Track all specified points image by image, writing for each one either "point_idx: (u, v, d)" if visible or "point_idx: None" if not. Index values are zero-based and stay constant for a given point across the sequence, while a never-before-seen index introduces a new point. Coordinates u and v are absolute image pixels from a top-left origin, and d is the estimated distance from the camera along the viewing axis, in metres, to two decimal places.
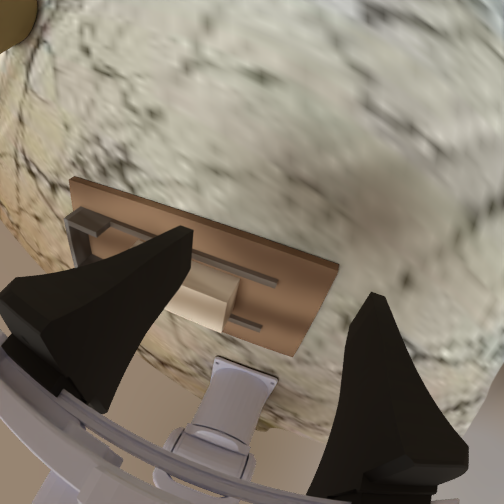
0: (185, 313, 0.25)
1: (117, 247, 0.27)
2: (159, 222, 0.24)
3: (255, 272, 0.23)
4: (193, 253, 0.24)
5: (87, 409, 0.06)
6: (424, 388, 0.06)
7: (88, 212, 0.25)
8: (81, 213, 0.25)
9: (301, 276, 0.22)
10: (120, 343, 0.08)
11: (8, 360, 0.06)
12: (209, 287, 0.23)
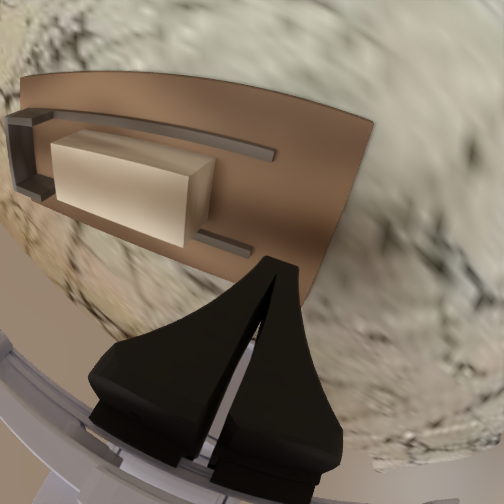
0: (129, 217, 0.15)
1: None
2: (108, 92, 0.14)
3: (239, 139, 0.14)
4: (148, 123, 0.14)
5: (87, 409, 0.06)
6: (306, 356, 0.07)
7: (33, 109, 0.16)
8: (25, 111, 0.15)
9: (313, 137, 0.13)
10: (223, 391, 0.08)
11: (8, 360, 0.06)
12: (164, 162, 0.13)
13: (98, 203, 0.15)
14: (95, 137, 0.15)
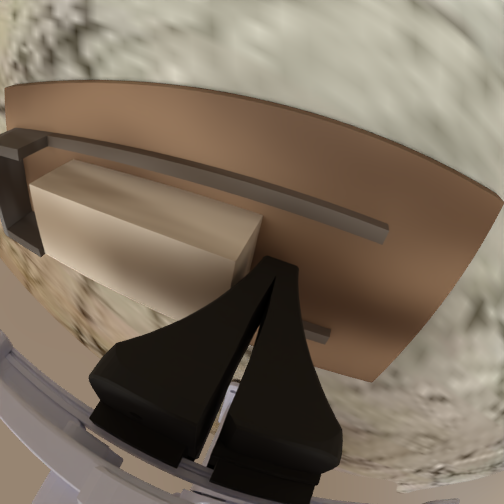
0: (143, 295, 0.11)
1: None
2: (128, 113, 0.10)
3: (339, 207, 0.10)
4: (195, 168, 0.10)
5: (87, 409, 0.06)
6: (306, 356, 0.07)
7: (21, 131, 0.12)
8: (11, 133, 0.12)
9: (437, 214, 0.09)
10: (224, 391, 0.08)
11: (8, 360, 0.06)
12: (192, 228, 0.10)
13: (99, 270, 0.11)
14: (89, 175, 0.11)
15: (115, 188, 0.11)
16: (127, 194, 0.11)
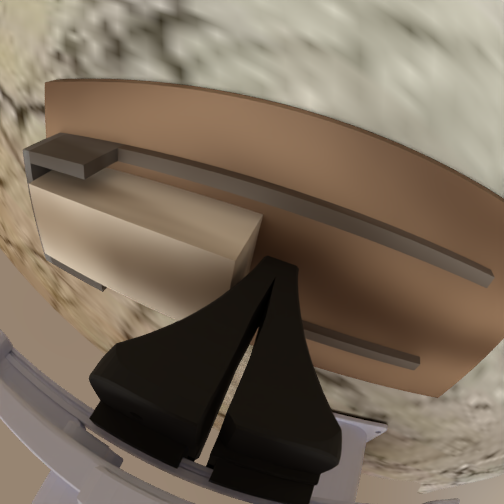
0: (143, 295, 0.11)
1: None
2: (251, 137, 0.10)
3: (461, 256, 0.09)
4: (337, 212, 0.10)
5: (87, 409, 0.06)
6: (305, 355, 0.07)
7: (73, 138, 0.11)
8: (59, 140, 0.11)
9: None
10: (224, 391, 0.08)
11: (8, 360, 0.06)
12: (192, 227, 0.10)
13: (98, 270, 0.11)
14: None
15: (115, 187, 0.11)
16: (127, 193, 0.11)
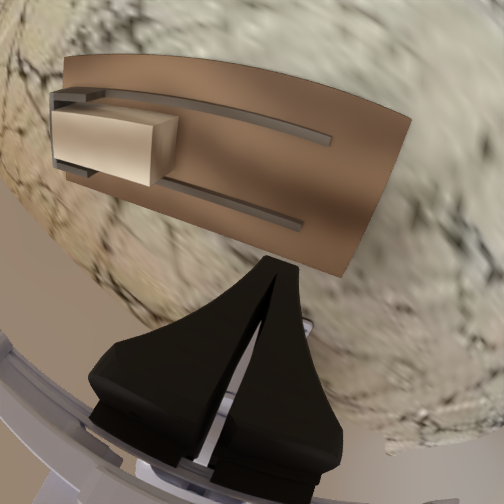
0: (109, 165, 0.18)
1: None
2: (171, 74, 0.16)
3: (300, 125, 0.16)
4: (213, 105, 0.16)
5: (87, 409, 0.06)
6: (306, 356, 0.07)
7: (80, 87, 0.17)
8: (71, 88, 0.17)
9: (363, 128, 0.15)
10: (223, 391, 0.08)
11: (8, 360, 0.06)
12: (137, 118, 0.16)
13: (86, 156, 0.18)
14: (87, 106, 0.18)
15: (101, 109, 0.17)
16: (107, 110, 0.17)
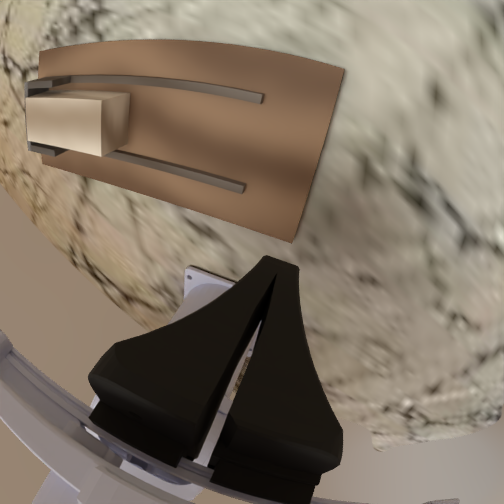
0: (70, 141, 0.18)
1: None
2: (123, 56, 0.16)
3: (233, 87, 0.15)
4: (156, 78, 0.16)
5: (87, 409, 0.06)
6: (306, 356, 0.07)
7: (51, 77, 0.17)
8: (44, 78, 0.17)
9: (295, 82, 0.14)
10: (223, 391, 0.08)
11: (8, 360, 0.06)
12: (91, 96, 0.16)
13: (52, 135, 0.18)
14: (56, 92, 0.18)
15: (66, 93, 0.17)
16: (70, 93, 0.17)
